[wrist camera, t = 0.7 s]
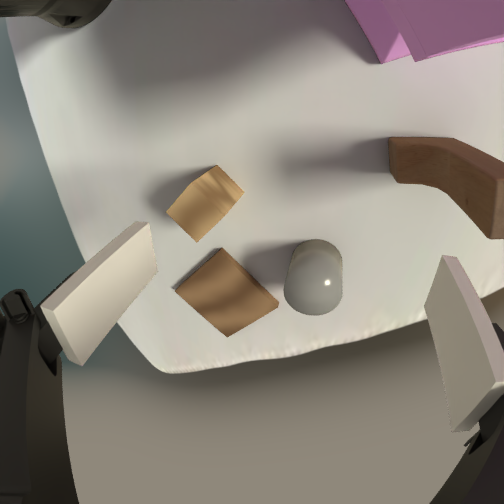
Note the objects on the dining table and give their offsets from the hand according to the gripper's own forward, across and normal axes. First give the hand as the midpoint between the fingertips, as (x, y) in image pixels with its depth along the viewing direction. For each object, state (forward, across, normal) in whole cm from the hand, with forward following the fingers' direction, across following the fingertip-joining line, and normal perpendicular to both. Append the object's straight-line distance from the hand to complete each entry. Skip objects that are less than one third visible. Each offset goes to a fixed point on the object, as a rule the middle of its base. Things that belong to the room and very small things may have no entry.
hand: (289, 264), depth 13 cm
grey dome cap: (+25, +1, -15) cm, 29 cm away
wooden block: (+25, +13, +1) cm, 28 cm away
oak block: (+25, -12, -6) cm, 29 cm away
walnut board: (+25, -12, -23) cm, 36 cm away
